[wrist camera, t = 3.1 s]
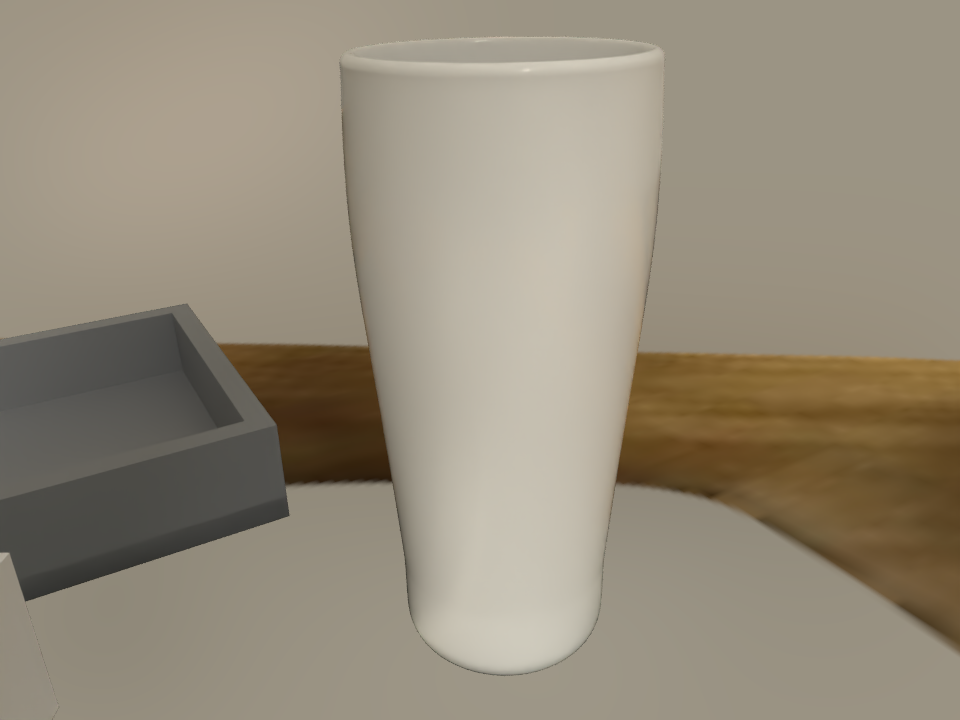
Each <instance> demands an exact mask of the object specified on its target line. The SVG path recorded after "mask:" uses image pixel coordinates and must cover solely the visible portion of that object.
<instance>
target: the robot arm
mask: <svg viewBox="0 0 960 720" xmlns="http://www.w3.org/2000/svg"><path fill="white" fill-rule="evenodd" d="M58 708H59V706H58V702H57V699H56V697H55V693H54V690H53V687H52V684H51V681H50V678H49V675H48V671H47V668H46V665H45V662H44V659H43V656H42V653H41V650H40V647H39V644H38V641H37V637H36V634H35V631H34V628H33V625H32V622H31V619H30V615H29V612H28V609H27V606H26V603H25V600H24V597H23V594H22V591H21V588H20V584H19V581H18V578H17V575H16V572H15V569H14V566H13V563H12V560H11V556H10V553H0V720H52V719H53V717H54V716H55V714H56V712H57V710H58Z"/></svg>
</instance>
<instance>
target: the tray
mask: <svg viewBox="0 0 960 720" xmlns="http://www.w3.org/2000/svg"><path fill="white" fill-rule="evenodd" d="M287 516H289V510H288V502H287V496H286V488H285V481H284V474H283V467H282V459H281V452H280V445H279V438H278V431H277V425H276V423H275V422H274V421H273V419H272V418H271V417H270V415H269V414H268V413H267V411H266V410H265V409H264V407H263V406H262V404H261V403H260V402H259V400H258V399H257V398H256V396H255V395H254V394H253V392H252V391H251V390H250V388H249V387H248V385H247V384H246V383H245V381H244V380H243V379H242V377H241V376H240V375H239V373H238V372H237V371H236V369H235V368H234V367H233V365H232V364H231V362H230V361H229V360H228V358H227V357H226V356H225V354H224V353H223V352H222V350H221V349H220V348H219V346H218V345H217V344H216V342H215V341H214V340H213V338H212V337H211V335H210V334H209V333H208V331H207V330H206V329H205V327H204V326H203V325H202V323H201V322H200V320H199V319H198V318H197V317H196V315H195V314H194V312H193V311H192V310H191V308H190V307H189V306H188V304H182V305H177V306H172V307H167V308H161V309H156V310H151V311H146V312H141V313H135V314H130V315H126V316H120V317H115V318H110V319H105V320H99V321H94V322H89V323H84V324H78V325H73V326H68V327H63V328H58V329H53V330H48V331H42V332H37V333H32V334H26V335H21V336H17V337H11V338H6V339H0V553H10V556H11V560H12V563H13V566H14V569H15V572H16V575H17V578H18V581H19V584H20V588H21V591H22V594H23V597H24V600H25V601H28V600H31V599H35V598H37V597H40V596H44V595H47V594H50V593H53V592H56V591H59V590H62V589H65V588H68V587H72V586H74V585H78V584H81V583H84V582H87V581H90V580H93V579H96V578H99V577H102V576H105V575H109V574H112V573H115V572H118V571H121V570H124V569H127V568H130V567H133V566H136V565H139V564H143V563H146V562H149V561H152V560H154V559H158V558H161V557H164V556H167V555H170V554H173V553H176V552H179V551H183V550H186V549H189V548H191V547H195V546H198V545H201V544H204V543H207V542H210V541H213V540H217V539H220V538H222V537H226V536H229V535H232V534H235V533H238V532H241V531H244V530H247V529H250V528H254V527H256V526H260V525H263V524H266V523H269V522H272V521H275V520H278V519H281V518H284V517H287Z"/></svg>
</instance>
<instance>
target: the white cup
mask: <svg viewBox="0 0 960 720" xmlns="http://www.w3.org/2000/svg"><path fill="white" fill-rule="evenodd" d="M339 64H340V78H341V111H342V136H343V153H344V170H345V183H346V194H347V204H348V215H349V225H350V233H351V240H352V249H353V255H354V262H355V269H356V276H357V282H358V288H359V294H360V300H361V306H362V312H363V318H364V323H365V329H366V335H367V340H368V346H369V352H370V357H371V363H372V368H373V374H374V380H375V385H376V391H377V396H378V402H379V408H380V413H381V419H382V425H383V431H384V436H385V442H386V448H387V453H388V459H389V465H390V471H391V477H392V483H393V489H394V494H395V500H396V506H397V512H398V518H399V525H400V531H401V537H402V543H403V549H404V556H405V565H406V579H407V593H408V603H409V609H410V614H411V617H412V620H413V623H414V625H415V627H416V629H417V631H418V633H419V634H420V636H421V637H422V639H423V640H424V641H425V642H426V644H427V645H428V646H429V647H430V648H431V649H432V650H433V651H434V652H436V653H437V654H438V655H440V656H441V657H443V658H444V659H446V660H447V661H449V662H451V663H453V664H455V665H457V666H460V667H462V668H465V669H467V670H471V671H474V672H478V673H483V674H490V675H522V674H528V673H532V672H537V671H540V670H543V669H546V668H549V667H551V666H553V665H556V664H557V663H559V662H561V661H563V660H565V659H566V658H568V657H569V656H571V655H572V654H573V653H574V652H576V651H577V650H578V649H579V648H580V647H581V646H582V645H583V644H584V643H585V641H586V640H587V639H588V637H589V636H590V634H591V632H592V631H593V629H594V627H595V624H596V622H597V620H598V616H599V611H600V605H601V596H602V580H603V563H604V554H605V548H606V542H607V535H608V529H609V521H610V515H611V509H612V503H613V496H614V491H615V484H616V478H617V472H618V466H619V460H620V454H621V447H622V441H623V435H624V429H625V423H626V417H627V411H628V405H629V399H630V393H631V388H632V382H633V376H634V370H635V364H636V358H637V352H638V346H639V340H640V334H641V328H642V322H643V316H644V311H645V304H646V298H647V292H648V285H649V279H650V272H651V265H652V257H653V250H654V242H655V232H656V224H657V214H658V202H659V190H660V176H661V160H662V159H661V158H662V139H663V108H664V67H665V54H664V51H663V50H662V49H661V48H660V47H659V46H657V45H654V44H651V43H646V42H639V41H632V40H621V39H607V38H587V37H534V36H533V37H529V36H527V37H474V38H473V37H471V38H447V39H428V40H413V41H401V42H390V43H382V44H373V45H367V46H362V47H357V48H353V49H350V50H347V51H346V52H344V53H343V54H342V56H341V57H340V62H339Z"/></svg>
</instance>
